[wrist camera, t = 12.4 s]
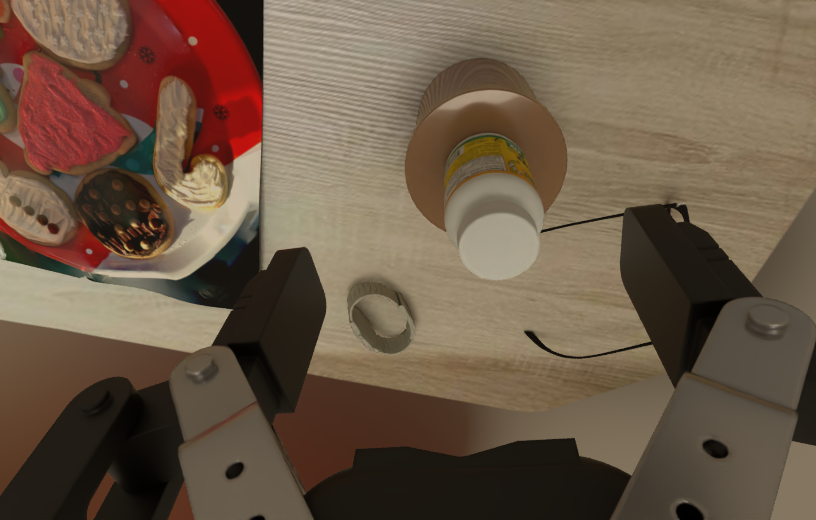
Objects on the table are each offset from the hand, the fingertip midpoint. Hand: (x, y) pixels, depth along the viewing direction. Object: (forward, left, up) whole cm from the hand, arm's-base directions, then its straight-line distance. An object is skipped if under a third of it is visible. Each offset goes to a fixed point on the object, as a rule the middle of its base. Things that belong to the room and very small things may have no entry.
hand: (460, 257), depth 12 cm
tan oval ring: (+25, -11, -30) cm, 41 cm away
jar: (+6, +1, -30) cm, 31 cm away
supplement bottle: (+6, +1, -20) cm, 20 cm away
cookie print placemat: (+1, -35, -30) cm, 46 cm away
